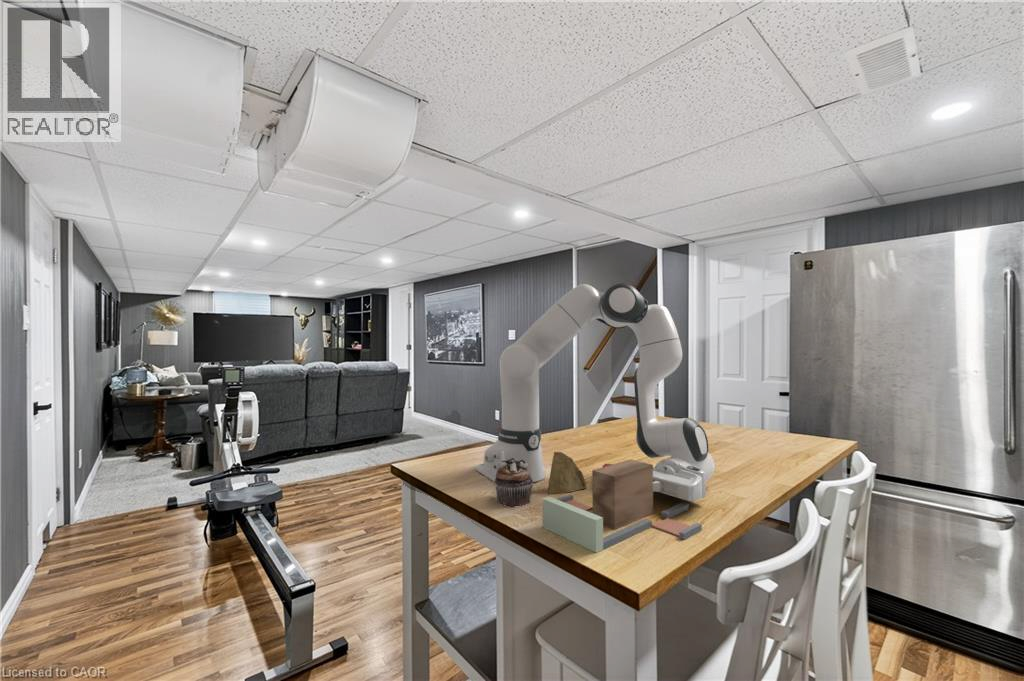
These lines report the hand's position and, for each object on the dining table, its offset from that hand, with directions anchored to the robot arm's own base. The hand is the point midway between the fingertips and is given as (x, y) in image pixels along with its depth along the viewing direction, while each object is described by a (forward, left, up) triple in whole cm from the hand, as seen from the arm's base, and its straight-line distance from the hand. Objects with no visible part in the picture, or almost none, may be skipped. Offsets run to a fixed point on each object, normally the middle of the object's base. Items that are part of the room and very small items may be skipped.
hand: (640, 487), depth 100 cm
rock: (-20, -4, -5) cm, 21 cm away
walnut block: (0, -7, -5) cm, 9 cm away
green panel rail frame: (0, -8, -5) cm, 9 cm away
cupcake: (-23, -20, -5) cm, 31 cm away
